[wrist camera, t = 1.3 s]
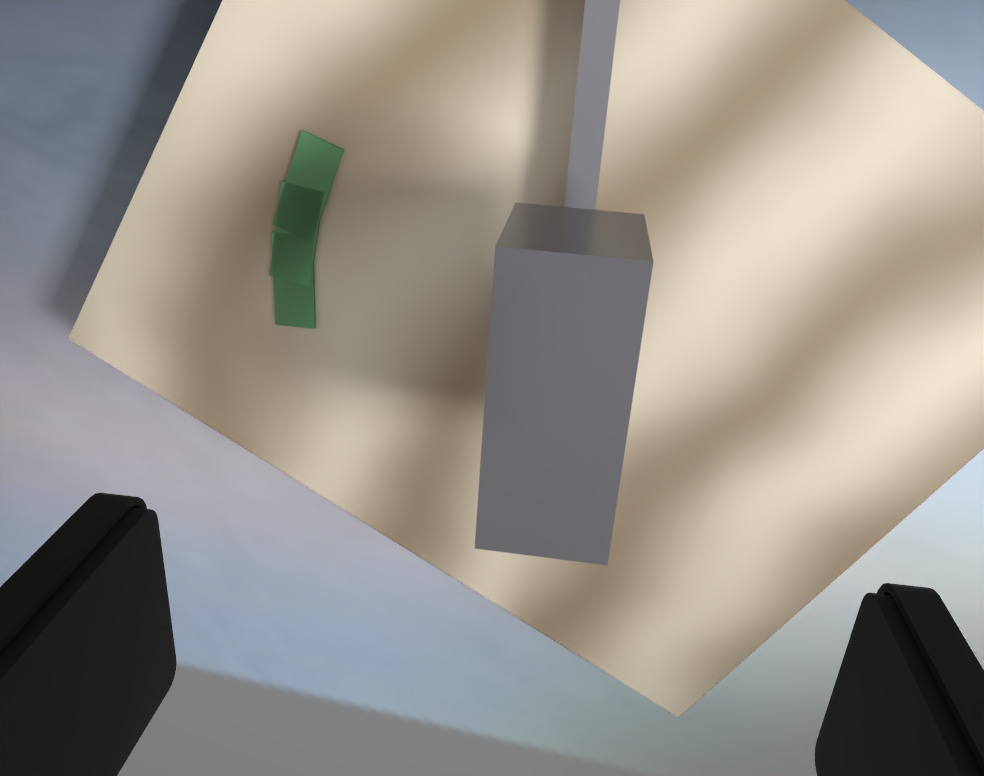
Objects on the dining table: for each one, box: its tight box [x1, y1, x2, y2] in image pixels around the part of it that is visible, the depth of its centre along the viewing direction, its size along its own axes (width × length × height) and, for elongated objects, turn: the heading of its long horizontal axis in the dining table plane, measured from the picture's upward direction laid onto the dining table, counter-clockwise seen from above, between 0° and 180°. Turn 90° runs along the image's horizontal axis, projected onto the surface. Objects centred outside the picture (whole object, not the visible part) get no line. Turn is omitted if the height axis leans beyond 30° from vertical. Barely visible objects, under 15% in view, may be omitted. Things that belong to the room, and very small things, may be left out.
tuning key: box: [475, 0, 654, 565], centre depth 19 cm, size 12×3×7 cm, turn 176°
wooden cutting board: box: [68, 0, 984, 718], centre depth 24 cm, size 24×20×2 cm
